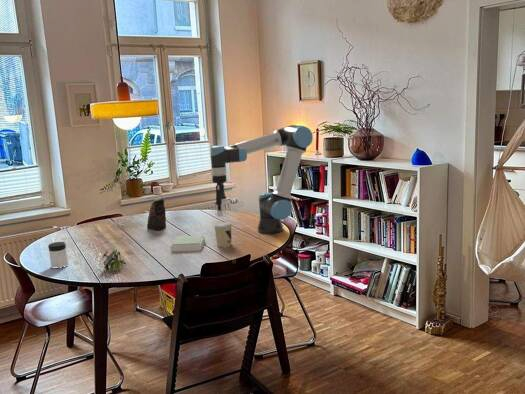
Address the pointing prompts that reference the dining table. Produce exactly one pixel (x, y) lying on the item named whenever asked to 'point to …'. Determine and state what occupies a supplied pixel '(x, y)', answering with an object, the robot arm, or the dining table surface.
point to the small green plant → (117, 263)
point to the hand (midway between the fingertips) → (221, 213)
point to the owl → (157, 215)
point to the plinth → (188, 243)
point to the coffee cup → (223, 234)
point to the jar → (58, 254)
